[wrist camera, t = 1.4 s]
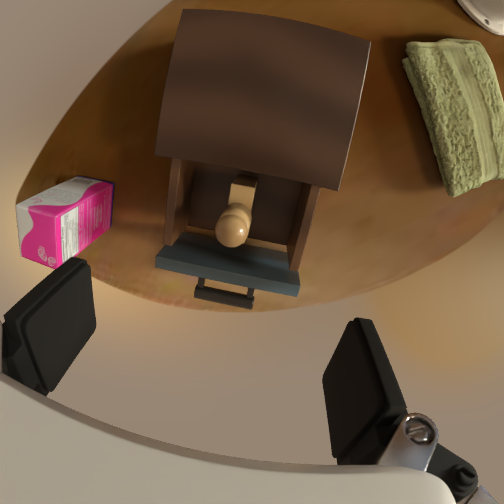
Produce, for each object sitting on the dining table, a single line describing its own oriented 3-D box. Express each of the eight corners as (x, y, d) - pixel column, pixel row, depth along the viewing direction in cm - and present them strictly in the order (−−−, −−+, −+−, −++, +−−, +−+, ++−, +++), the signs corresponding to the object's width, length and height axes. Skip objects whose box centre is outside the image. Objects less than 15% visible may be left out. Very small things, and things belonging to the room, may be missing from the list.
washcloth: (474, 39, 20) (488, 34, 17) (508, 171, 26) (523, 177, 23) (391, 47, 23) (402, 40, 20) (436, 197, 29) (450, 205, 26)
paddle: (235, 174, 28) (217, 198, 19) (260, 178, 28) (253, 205, 19) (227, 222, 30) (207, 265, 21) (250, 226, 30) (240, 272, 21)
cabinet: (321, 173, 29) (338, 191, 21) (184, 146, 29) (153, 155, 21) (346, 61, 24) (371, 41, 16) (205, 35, 24) (182, 8, 16)
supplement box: (76, 219, 33) (18, 256, 23) (78, 174, 31) (13, 200, 20) (112, 229, 33) (58, 273, 23) (116, 182, 31) (55, 212, 20)
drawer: (284, 293, 34) (286, 329, 28) (173, 270, 34) (154, 301, 28) (320, 162, 28) (332, 172, 22) (189, 136, 28) (166, 140, 22)
